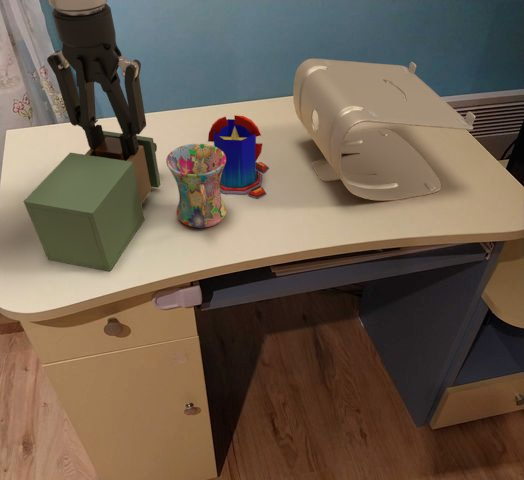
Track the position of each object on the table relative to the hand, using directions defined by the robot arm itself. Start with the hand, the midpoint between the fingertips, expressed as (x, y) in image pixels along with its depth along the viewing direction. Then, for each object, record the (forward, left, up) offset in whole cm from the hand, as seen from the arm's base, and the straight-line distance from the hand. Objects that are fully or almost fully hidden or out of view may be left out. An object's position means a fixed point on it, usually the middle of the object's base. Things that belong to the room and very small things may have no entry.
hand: (118, 168), depth 83 cm
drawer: (0, +1, -5) cm, 5 cm away
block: (0, 0, 0) cm, 0 cm away
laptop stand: (+40, +23, -6) cm, 47 cm away
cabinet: (0, -11, -6) cm, 13 cm away
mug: (+15, -2, -6) cm, 16 cm away
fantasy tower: (+17, +11, -6) cm, 21 cm away
